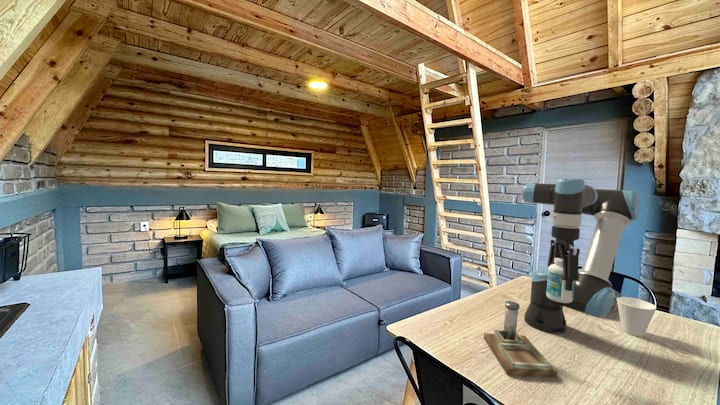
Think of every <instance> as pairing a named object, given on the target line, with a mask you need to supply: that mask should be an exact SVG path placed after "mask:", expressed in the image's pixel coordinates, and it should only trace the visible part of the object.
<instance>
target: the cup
mask: <svg viewBox="0 0 720 405" xmlns="http://www.w3.org/2000/svg"><path fill="white" fill-rule="evenodd" d="M617 308H618V314H619V321H620V326H621V331H622V332H624V333H626V334H628V335H631V336H633V337H634V336H635V337H642V336H643V337H645V334H646V333H647V331H648V328H649V325H650V323H651V320H652V318H653V317H654V314H655V312H656V310H657V306H656V305H655V304H653V303H651V302H649V301H646V300H642V299H639V298H636V297H635V298H634V297H627V296H622V297H619V298H617Z"/></svg>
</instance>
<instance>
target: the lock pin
mask: <svg viewBox="0 0 720 405" xmlns="http://www.w3.org/2000/svg"><path fill="white" fill-rule="evenodd" d="M504 306H505V312H504V324H503V330H504V333H503V338H504V339H505V340H515V338H516V332H517V326H518V315H519V310H520V304H519V303H518V302H516V301H511V300H506V301H505V303H504Z"/></svg>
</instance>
